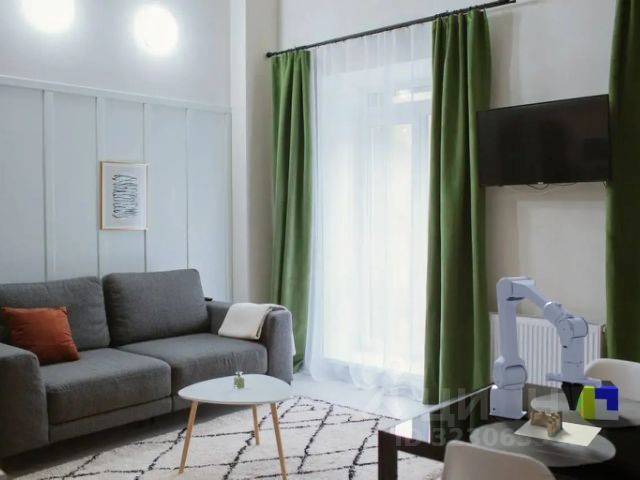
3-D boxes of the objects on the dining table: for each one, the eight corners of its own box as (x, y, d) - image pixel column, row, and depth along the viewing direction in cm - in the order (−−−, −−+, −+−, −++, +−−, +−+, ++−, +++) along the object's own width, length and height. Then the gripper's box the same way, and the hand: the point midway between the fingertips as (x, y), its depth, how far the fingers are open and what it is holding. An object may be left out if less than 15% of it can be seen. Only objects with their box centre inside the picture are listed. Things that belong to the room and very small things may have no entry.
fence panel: (556, 428, 190) (556, 413, 189) (560, 429, 189) (560, 414, 189) (547, 435, 184) (547, 420, 184) (551, 436, 183) (551, 420, 183)
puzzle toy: (618, 421, 197) (618, 388, 197) (583, 420, 199) (583, 387, 199) (610, 411, 207) (610, 380, 207) (577, 410, 209) (577, 379, 209)
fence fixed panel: (530, 424, 194) (530, 407, 194) (531, 423, 196) (531, 406, 195) (561, 429, 189) (561, 412, 189) (563, 428, 190) (562, 410, 190)
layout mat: (513, 435, 187) (513, 433, 187) (532, 418, 202) (532, 417, 202) (587, 447, 175) (587, 446, 175) (601, 429, 190) (601, 427, 190)
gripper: (604, 361, 179) (604, 410, 180) (550, 355, 188) (551, 402, 189) (597, 366, 174) (597, 416, 174) (542, 360, 182) (543, 408, 183)
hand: (573, 409), depth 181 cm, fingers closed
